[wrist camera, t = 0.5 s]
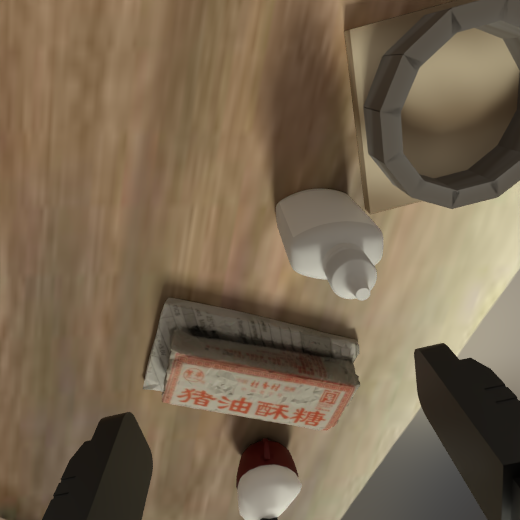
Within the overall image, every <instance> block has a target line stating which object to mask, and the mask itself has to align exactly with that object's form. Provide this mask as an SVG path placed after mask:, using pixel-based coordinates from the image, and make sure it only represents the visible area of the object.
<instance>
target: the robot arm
mask: <svg viewBox="0 0 520 520" xmlns="http://www.w3.org/2000/svg"><path fill="white" fill-rule="evenodd" d="M414 358H415V369H416V381H417V392H418V397H419V401H420V404H421V406H422V409H423V411H424V413H425V415H426V417H427V419H428V420H429V422H430V424H431V425H432V427H433V429H434V430H435V432H436V434H437V435H438V437H439V439H440V441H441V442H442V444H443V446H444V447H445V449H446V451H447V452H448V454H449V455H450V457H451V459H452V461H453V462H454V464H455V466H456V467H457V469H458V471H459V472H460V474H461V476H462V477H463V479H464V481H465V482H466V484H467V486H468V487H469V489H470V491H471V493H472V494H473V496H474V498H475V499H476V501H477V503H478V504H479V506H480V508H481V509H482V511H483V513H484V514H485V516H486V518H487V519H488V520H520V401H519V400H518V399H517V397H516V395H515V394H514V393H513V392H512V391H511V390H510V389H509V388H508V387H506V386H505V384H504V383H503V382H502V381H501V379H499V377H497V375H496V374H495V373H494V372H493V371H492V370H491V369H490V368H488V367H486V366H484V365H482V364H481V363H479V362H477V361H476V360H474V359H472V358H467V359H462V360H459V359H458V358H457V357H456V355H455V354H454V353H453V352H452V351H451V350H450V348H449V347H448V346H447V345H446V344H444V343H441V344H436V345H432V346H427V347H423V348H418V349H415V352H414ZM152 470H153V460H152V454H151V450H150V448H149V446H148V444H147V442H146V439H145V437H144V435H143V433H142V431H141V429H140V427H139V425H138V423H137V421H136V419H135V417H134V415H133V414H132V413H131V412H127V413H122V414H118V415H113V416H109V417H104V418H102V419H101V420H100V422H99V423H98V426H97V428H96V430H95V433H94V435H93V437H92V440H90V441H86V442H84V443H83V445H82V446H81V447H80V448H79V449H78V451H77V452H76V453H75V454H74V456H73V457H72V458H71V459H70V461H69V463H68V465H67V467H66V469H65V472H64V474H63V476H62V478H61V483H59V484H58V487H57V489H56V491H55V493H54V495H53V496H54V498H53V499H52V500H51V502H50V504H49V506H48V508H47V510H46V512H45V514H44V517H43V519H42V520H141V519H142V515H143V511H144V506H145V502H146V498H147V493H148V489H149V485H150V480H151V476H152Z"/></svg>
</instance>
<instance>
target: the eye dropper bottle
mask: <svg viewBox="0 0 520 520" xmlns="http://www.w3.org/2000/svg"><path fill="white" fill-rule="evenodd" d="M276 219H277V226H278V229H279V232H280V235H281V238H282V242H283V245H284V247H285V250H286V253H287V256H288V259H289V262H290V264H291V266H292V268H293V270H294V271H296V272H297V273H299V274H302V275H305V276H308V277H312V278H318V279H327V280H328V281H329V284H330V286H331V288H332V290H333V291H334V292H335V294H337V295H339V296H340V297H343V298H345V299H355V298H357V299H358V300H366V299H367V298H368V297H369V296H370V290H371V289H372V288H373V286H374V285H375V282H376V279H377V273H376V272H377V271H376V268H375V266H374V265H376V264H377V263H378V262H379V261H380V260H381V258H382V255H383V234H382V232H381V230H380V228H379V227H378V226H377V225H376V224H375V223H374V222H373V221H372V219H371V218H370V217H369V216H368V215H367V214H366V213H365V212H364V211H363V210H362V209H361V208H360V207H359V206H358V205H357V204H356V203H355V201H354V200H353V199H352V198H351V197H350V196H348V195H347V194H346V193H344V192H341V191H337V190H332V189H309V190H304V191H300V192H297V193H294V194H292V195H290V196H287V197H286V198H284V199H282V200H281V201H279V203H278V204H277V205H276Z"/></svg>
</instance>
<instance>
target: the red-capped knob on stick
mask: <svg viewBox="0 0 520 520" xmlns="http://www.w3.org/2000/svg"><path fill="white" fill-rule="evenodd" d="M236 487H237V489H238V505H239V512H240V515H241V516H242V517H243V518H244V519H245V520H277V517H278V516H280V515H281V514H282V513H283V512H284V511H285V510H286V509H287V507H288V506H289V505H290V503H291V502H292V501H293V500H294V499H295V498H296V496H297V495H298V494H299V492H300V490H301V487H302V484H301V482H300V480H299V478H298V473H297V470H296V467H295V464H294V461H293V459H292V456H291V454H290V452H289V450H287V449H286V448H285V447H284V446H282V445H281V444H280V443H278V442H274V441H270V440H269V441H268V438H263V439H262V441H259V442H257V443H255V444H252V445H250V446H249V447H248V448H247V449H246V450H245V451H244V453H243V454H242V456H241V460H240V464H239V467H238V472H237V484H236Z"/></svg>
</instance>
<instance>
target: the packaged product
mask: <svg viewBox="0 0 520 520" xmlns="http://www.w3.org/2000/svg"><path fill="white" fill-rule="evenodd" d="M358 354H359V344H358V342H357V340H355V339H351V338H346V337H342V336H337V335H333V334H328V333H324V332H320V331H317V330H313V329H309V328H306V327H302V326H298V325H294V324H289V323H285V322H281V321H277V320H273V319H269V318H265V317H261V316H257V315H253V314H248V313H244V312H239V311H235V310H231V309H226V308H221V307H216V306H211V305H206V304H201V303H196V302H191V301H186V300H181V299H176V298H167V300H166V302H165V304H164V306H163V309H162V312H161V315H160V319H159V324H158V329H157V334H156V338H155V340H154V343H153V346H152V349H151V353H150V357H149V361H148V364H147V370H146V375H145V381H144V386H143V389H150V390H157V391H161V392H163V393H162V402H164V403H169V404H173V405H179V406H185V407H191V408H195V409H201V410H207V411H214V412H219V413H224V414H230V415H236V416H242V417H247V418H254V419H261V420H264V421H272V422H277V423H281V424H288V425H294V426H298V427H304V428H310V429H314V430H328V429H330V428H331V427H334V426H335V425H336V424H337V423H338V419H339V418H340V417H341V415H342V413H343V411H344V409H345V408H346V407H347V406H348V405H349V402H350V401H351V400H352V398H353V395H354V393H355V392H356V390H357V389H358V388H359V386H360V382H359V380H358V377H359V376H357V375H356V374H355V368H354V365H353V362H354V361H355V359H356V357H357V355H358Z"/></svg>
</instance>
